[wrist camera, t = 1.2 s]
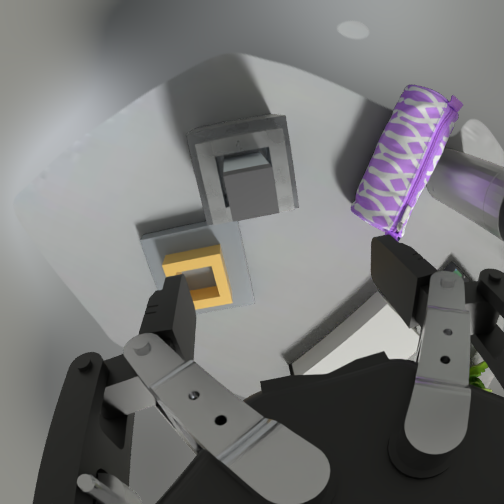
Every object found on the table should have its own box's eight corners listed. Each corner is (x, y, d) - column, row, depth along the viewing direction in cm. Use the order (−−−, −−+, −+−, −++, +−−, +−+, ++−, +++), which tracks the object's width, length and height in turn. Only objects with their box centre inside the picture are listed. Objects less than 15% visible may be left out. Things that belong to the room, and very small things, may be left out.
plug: (259, 150, 30) (272, 167, 22) (265, 184, 32) (279, 212, 24) (223, 157, 30) (223, 176, 22) (230, 191, 32) (233, 221, 24)
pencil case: (384, 229, 47) (414, 256, 38) (337, 211, 44) (362, 236, 36) (435, 107, 38) (475, 112, 29) (390, 77, 36) (427, 75, 27)
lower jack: (236, 214, 43) (238, 228, 39) (254, 296, 50) (256, 315, 45) (143, 234, 43) (134, 249, 39) (170, 311, 50) (166, 330, 45)
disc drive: (287, 364, 58) (292, 382, 54) (375, 288, 52) (387, 304, 47) (339, 391, 64) (344, 407, 60) (416, 329, 58) (426, 344, 54)
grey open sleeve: (271, 113, 38) (291, 116, 26) (282, 185, 42) (305, 217, 30) (195, 128, 38) (181, 136, 26) (211, 199, 42) (205, 236, 30)
